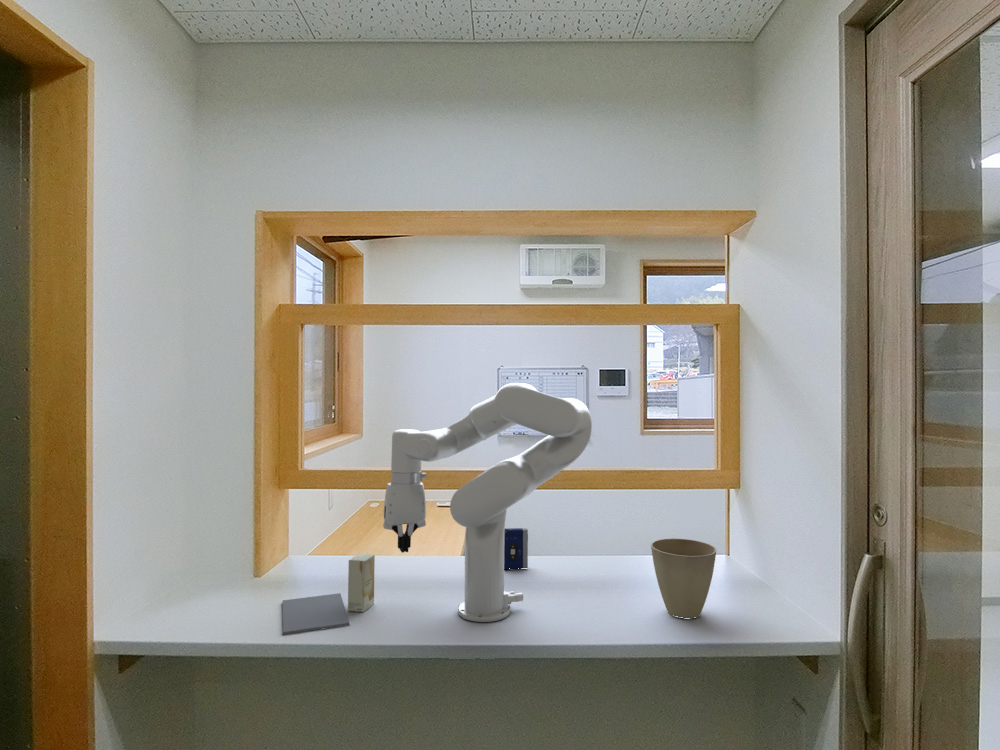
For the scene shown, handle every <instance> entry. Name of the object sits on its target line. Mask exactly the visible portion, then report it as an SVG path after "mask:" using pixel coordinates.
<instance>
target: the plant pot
mask: <svg viewBox="0 0 1000 750" xmlns="http://www.w3.org/2000/svg"><path fill="white" fill-rule="evenodd" d="M650 548H651V549H650V550H651V556H652V562H653V567H654V568H653V569H654V572H655V576H656V579H657V584H658V588H659V591H660V595H661V598H662V601H663V604H664V606H665V609H666V611H668V612H667V614H669V613H670V614H672V615H674V616H678V617H683V618H694V617H698V616H699V615H700V616H701V614H702V611H703V608H704V606H705V604H706V602H707V601H706V600H707V598H708V594H709V590H710V587H711V584H712V579H713V575H714V570H715V563H716V556H717V548H716V547H715V546H713V545H712V544H710V543H707V542H704V541H699V540H696V539H695V540H694V539H689V538H672V537H671V538H662V539H656V540H654V541H652V542H651V543H650ZM670 614H669V615H670ZM700 616H699V617H700ZM699 617H698V618H699Z"/></svg>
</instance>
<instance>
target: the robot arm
mask: <svg viewBox="0 0 1000 750" xmlns="http://www.w3.org/2000/svg"><path fill="white" fill-rule="evenodd" d="M591 417H592V416H591V413H590V410H589V409H588V407H587V405H586V403H584V402H582V401H581V400H580V399H577V398H573V397H563V398H562V397H557V396H555V395H552V394H548V393H544V392H542V391H538V390H537V388H535V386H533V385H531V384H528V383H525V382H510V383H507V384H504V385H503V386H502V387H500V388H499V390H498V391H497V392H496V394H495V395H493V396H491V397H490V398H487V399H485V400H484V401H481V402H479V403H477V404H475V405H473V406H472V407H471V408H470V411H469V412H468V413H467V415H466V416H465V417H463V418H462V419H459V420H458V421H456V422H454V423H452V424H449V425H448V426H445V427H443V428H438V429H432V430H425V431H420V430H418V429H412V428H411V429H410V428H408V429H407V428H403V429H396V430H394V431H393V432H392V436H391V463H390V464H391V466H390V467H391V468H390V469H391V470H390V482H388V483H387V485H386V489H385V496H384V503H383V520H384V521H383V525H382V528H383V529H385V530H389V531H390V530H391V531H393V532H394V533H395V534H396V535H397V549H399V551H400V552H401V553H402V554H403V553H405V552H406V553H409V549H410V548H411V543H412V542H411V539H412V535H413V534H414V532H415V531H417V529H420V528H423V527H425V526H426V525H427V522H426V517H427V516H426V515H427V512H426V511H427V507H426V494H425V493H426V492H425V485H424V483H423V482H422V480H424V479H427V475H428V474H427V473H426V472H423V471H422V462H427V463H428V462H430V463H431V462H435V461H439V460H442V459H446V458H450V457H453V456H455V455H457V454H459V453H460V452H463V451H465V450H467V449H469V448H471V447H473V446H475V445H477V444H480V442H483V441H486V440H488V439H489V438H491V437H493V436H495V435H497V434H500V433H501V432H503V431H506V430H508V429H510V428H511V427H513V426H516V425H518V426H522V427H524V428H527V429H531V430H533V431H537V432H539V433H541V434H544V435H547V436H545V437H543V438H542V439H541V440H539V441H537V442H536V443H535V444H534V445H532V446H530V447H529V448H528V449H526V450H524V451H523V452H521V453H520V454H518V455H515V456H512V457H510V458H506V459H504V460H501V461H499V462H497V463H495V464H494V465H492V466H491V467H489V468H487V469H486V470H484V471H483V472H481V473H480V474H478V475H477V476H476V477H474V478H473V479H471V480H470V481H468V482H466V483H465V484H464V485H462V486H461V487H459V488H458V489H457V490H456V491H455V492H454V493H453V495H452V497H451V500H450V504H449V510H450V515H451V517H452V519H453V520H454V522H456V523H457V524H458V525H460V526H461V527H464V528H465V533H464V601H463V602H461V603H460V604H459V605H458V607H457V613H458V615H459V617H461V618H462V619H465V620H467V621H472V622H477V623H493V622H496V621H501V620H504V619H506V618H507V617H508V616H509V615H511V612H512V611H511V610H512V609H511V604H512V603H517V602H523V601H524V594H523V592H517V593H516V592H515V591H513V590H512V591H505V570H504V534H505V529H506V518H507V509H508V508H510V507H511V506H512V507H513V505H515V504H516V503H518V502H520V501H521V500H523V499H525V498H526V497H528V496H529V495H530V494H531V493H533V492H534V491H535V490H536V489H538V487H540V486H541V485H543V484H544V483H546V482H547V481H549V480H550V479H552V478H554V477H555V476H556V475H557V474H559V473H560V472H562V471H563V470H565V469H566V468H568V467H569V466H570V465H571V464H573V463H574V462H575V461H576V460H577V459H578V458H579V457H580V456H581V455H582V454H583V453H584V451H585V450H586V447H587V446H588V443H589V442H590V438H591V437H592V436H591V435H592V428H593V427H592V426H593V425H592V423H593V421H592V418H591ZM403 525H406V527H405V532H404V529H403Z"/></svg>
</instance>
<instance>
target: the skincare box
mask: <svg viewBox="0 0 1000 750" xmlns="http://www.w3.org/2000/svg"><path fill="white" fill-rule="evenodd" d="M375 566H376V565H375V554H368V553H359V554H357V555H355V556H353V557H352V558H350V559H348V579H347V581H348V584H347V587H348V588H347V591H348V592H347V611H349V612H358V613H359V612H360V613H364V612H366V611H367V610H368V609H369V608H370V607H372V605H374V604H375Z"/></svg>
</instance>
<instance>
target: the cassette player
mask: <svg viewBox="0 0 1000 750" xmlns="http://www.w3.org/2000/svg"><path fill="white" fill-rule="evenodd" d="M528 541H529V529H528V528H526V527H524V528H523V527H520V528H517V527H515V528H505V534H504V569H509V568H510V569H518V568H519V569H521V568H528V567H529V563H528V561H529V559H528V558H529V556H528V555H529V549H528V547H529V546H528V545H529V542H528ZM528 569H529V568H528Z"/></svg>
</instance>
